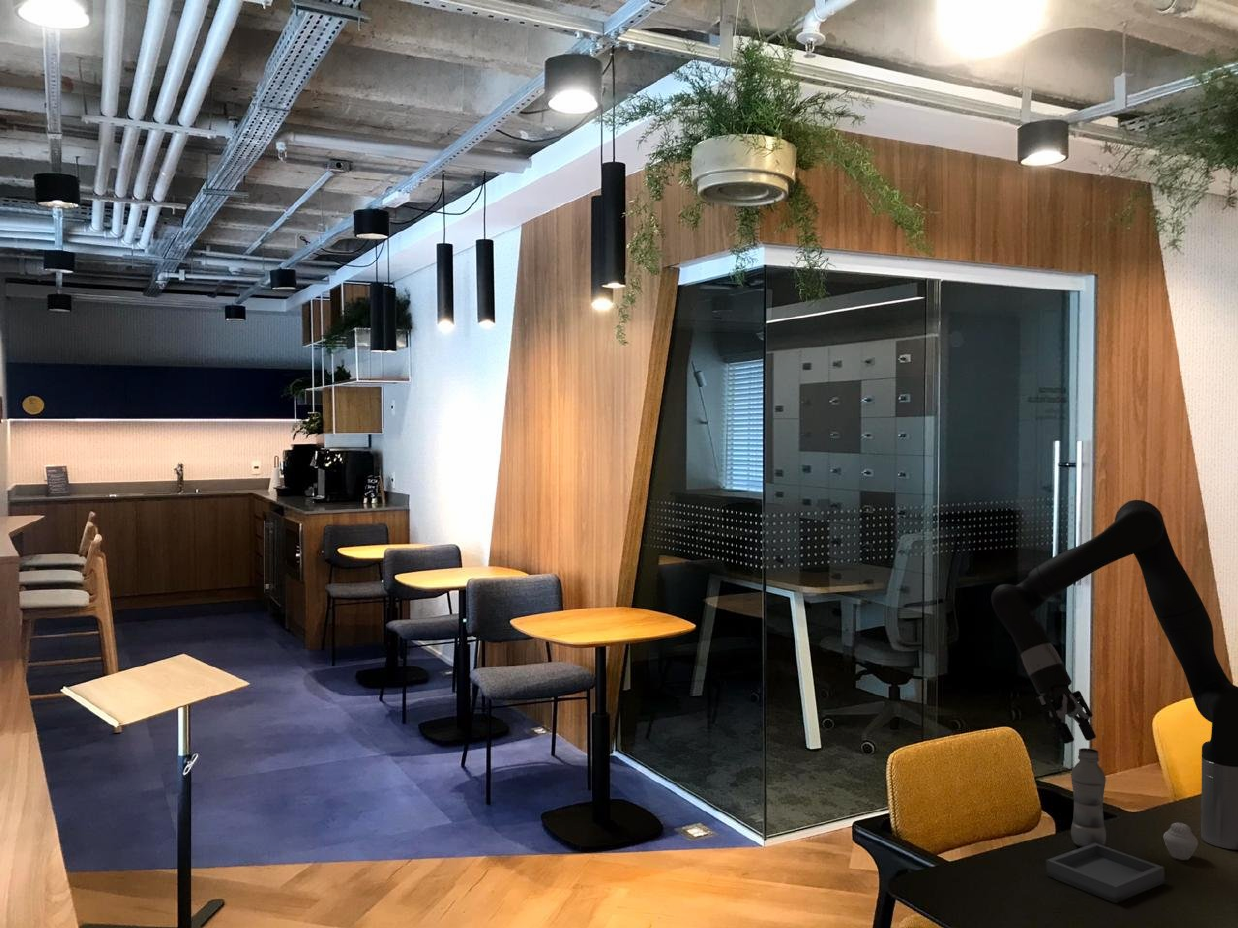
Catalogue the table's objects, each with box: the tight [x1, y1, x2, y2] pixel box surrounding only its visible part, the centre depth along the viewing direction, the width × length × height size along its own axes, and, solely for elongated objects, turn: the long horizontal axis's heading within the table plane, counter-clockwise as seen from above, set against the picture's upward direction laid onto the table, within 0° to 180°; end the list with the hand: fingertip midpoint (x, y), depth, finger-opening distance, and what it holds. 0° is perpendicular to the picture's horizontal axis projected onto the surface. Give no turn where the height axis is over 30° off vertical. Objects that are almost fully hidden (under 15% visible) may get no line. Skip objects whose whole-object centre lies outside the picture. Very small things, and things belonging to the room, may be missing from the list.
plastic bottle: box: [1070, 747, 1107, 848], centre depth 205 cm, size 6×7×20 cm
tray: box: [1045, 843, 1165, 904], centre depth 189 cm, size 16×14×3 cm
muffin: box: [1162, 822, 1199, 861], centre depth 200 cm, size 6×6×7 cm
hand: (1080, 740), depth 208 cm, fingers open, 8 cm apart
